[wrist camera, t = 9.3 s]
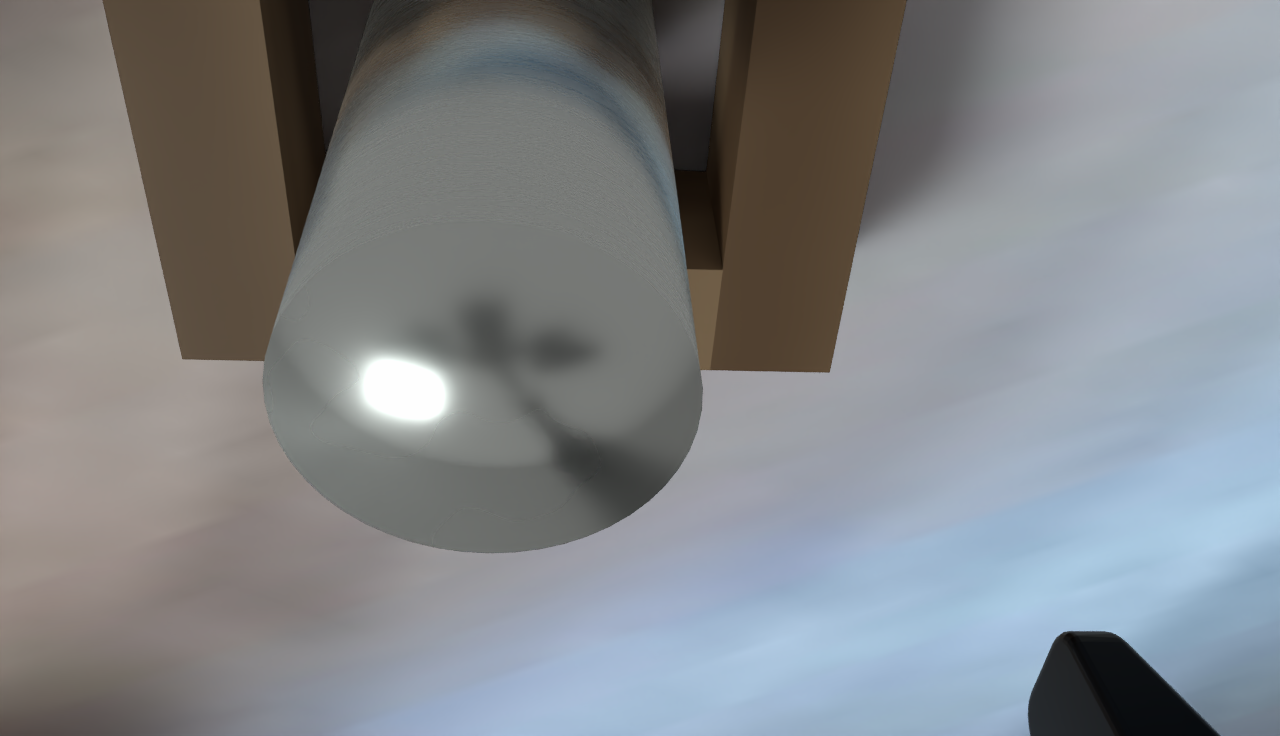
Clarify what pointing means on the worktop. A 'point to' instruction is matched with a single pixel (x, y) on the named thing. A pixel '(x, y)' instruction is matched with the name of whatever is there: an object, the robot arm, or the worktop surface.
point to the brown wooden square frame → (708, 200)
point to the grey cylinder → (492, 280)
